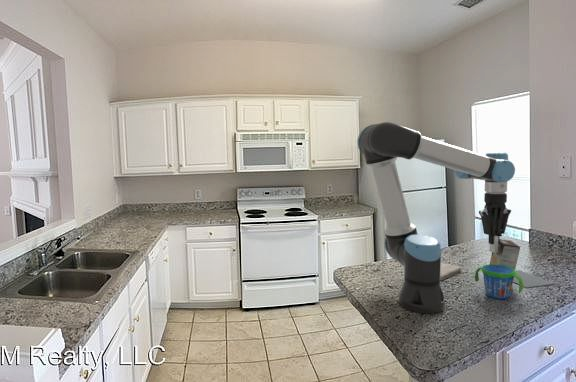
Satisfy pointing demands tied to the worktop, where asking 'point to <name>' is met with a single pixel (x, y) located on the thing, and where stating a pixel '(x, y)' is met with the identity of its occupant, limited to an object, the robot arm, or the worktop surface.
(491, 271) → the snack cup
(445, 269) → the washcloth
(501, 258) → the coffee box
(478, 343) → the worktop surface
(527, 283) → the mat
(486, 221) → the robot arm
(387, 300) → the worktop surface
